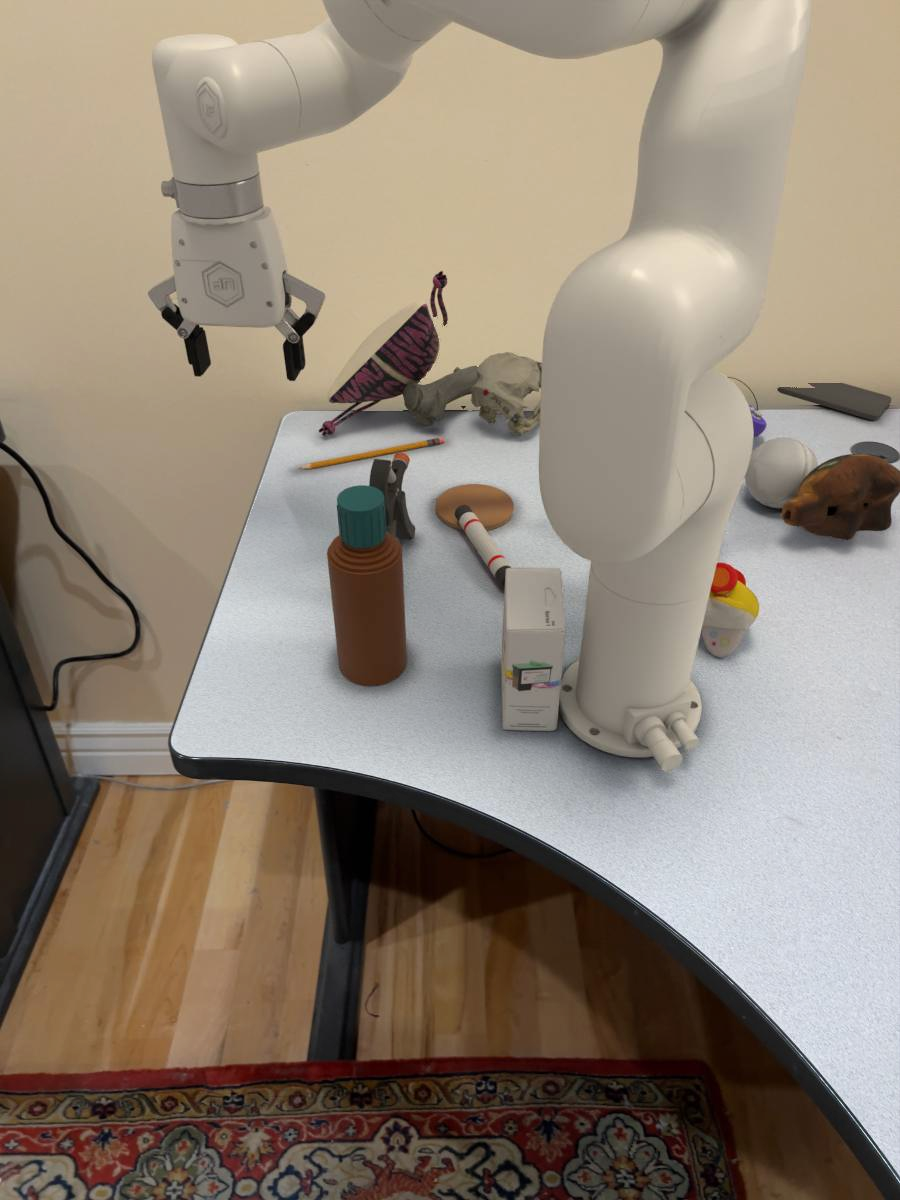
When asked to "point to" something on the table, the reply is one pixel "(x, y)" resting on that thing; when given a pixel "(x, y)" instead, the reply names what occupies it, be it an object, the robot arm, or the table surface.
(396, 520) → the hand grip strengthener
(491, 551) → the marker
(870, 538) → the table surface
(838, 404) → the cell phone
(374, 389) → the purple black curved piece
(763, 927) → the table surface
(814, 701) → the table surface
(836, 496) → the decorative turtle
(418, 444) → the pencil
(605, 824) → the table surface
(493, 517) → the coaster
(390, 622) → the bottle
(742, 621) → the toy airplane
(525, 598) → the ink box
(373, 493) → the cap
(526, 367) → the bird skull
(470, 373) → the bone
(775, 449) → the bath bomb
